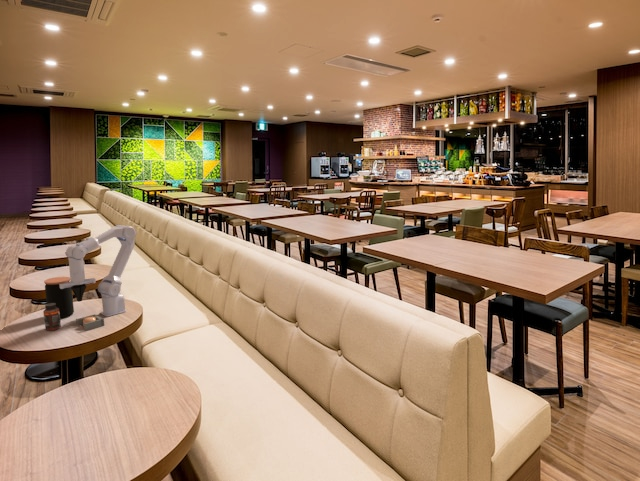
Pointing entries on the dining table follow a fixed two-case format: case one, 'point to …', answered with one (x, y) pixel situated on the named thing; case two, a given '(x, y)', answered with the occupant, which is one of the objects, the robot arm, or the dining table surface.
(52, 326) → the supplement bottle
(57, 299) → the coffee jar
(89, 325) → the dock
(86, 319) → the tan rounded knob
